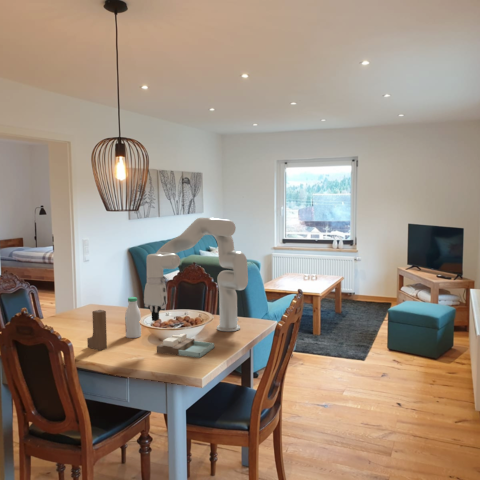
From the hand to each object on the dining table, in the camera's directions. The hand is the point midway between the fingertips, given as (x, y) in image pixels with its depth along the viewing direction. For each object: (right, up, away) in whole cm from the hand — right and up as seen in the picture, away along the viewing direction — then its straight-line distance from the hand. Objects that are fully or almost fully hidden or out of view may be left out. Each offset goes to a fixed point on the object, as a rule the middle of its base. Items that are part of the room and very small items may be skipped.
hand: (155, 320), depth 211 cm
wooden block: (-28, -14, +4) cm, 32 cm away
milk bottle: (-15, -12, +23) cm, 30 cm away
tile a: (+10, -10, +6) cm, 16 cm away
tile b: (+7, -11, -2) cm, 13 cm away
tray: (+19, -14, -2) cm, 24 cm away
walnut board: (+9, -14, +2) cm, 17 cm away
